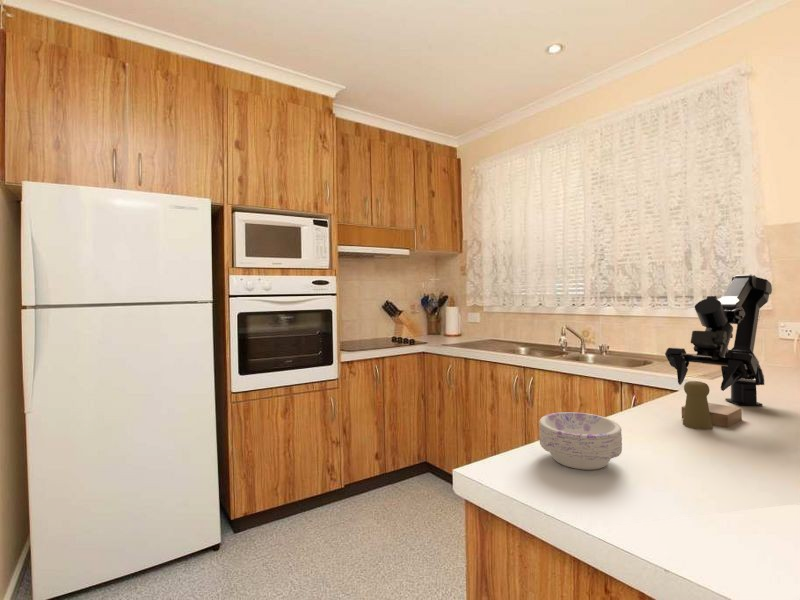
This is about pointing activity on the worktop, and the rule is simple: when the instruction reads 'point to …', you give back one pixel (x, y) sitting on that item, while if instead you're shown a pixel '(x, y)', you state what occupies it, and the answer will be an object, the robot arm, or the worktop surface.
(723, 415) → the base block
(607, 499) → the worktop surface
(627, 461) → the worktop surface
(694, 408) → the cork
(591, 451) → the paper bowls
